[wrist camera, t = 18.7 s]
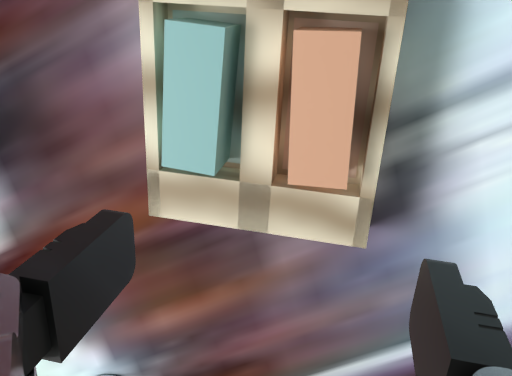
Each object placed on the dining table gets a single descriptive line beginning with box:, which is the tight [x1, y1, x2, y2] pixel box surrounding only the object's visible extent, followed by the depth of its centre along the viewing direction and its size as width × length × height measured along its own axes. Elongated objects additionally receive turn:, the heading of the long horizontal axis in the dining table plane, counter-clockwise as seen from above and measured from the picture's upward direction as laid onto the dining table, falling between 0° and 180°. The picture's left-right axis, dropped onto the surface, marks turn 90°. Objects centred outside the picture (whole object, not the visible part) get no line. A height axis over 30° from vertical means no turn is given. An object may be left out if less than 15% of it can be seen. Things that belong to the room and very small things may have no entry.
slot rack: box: [139, 0, 409, 248], centre depth 32 cm, size 20×17×4 cm
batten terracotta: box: [288, 27, 362, 190], centre depth 30 cm, size 10×4×4 cm, turn 179°
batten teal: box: [162, 18, 241, 176], centre depth 32 cm, size 10×4×4 cm, turn 174°
